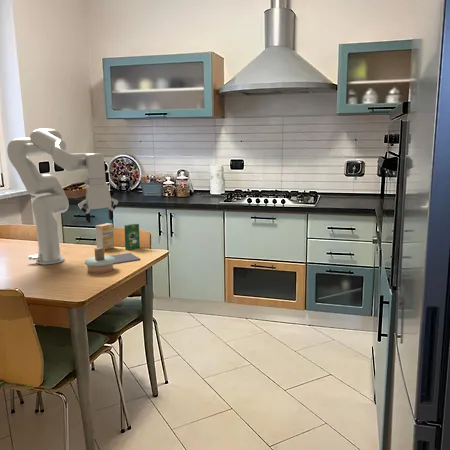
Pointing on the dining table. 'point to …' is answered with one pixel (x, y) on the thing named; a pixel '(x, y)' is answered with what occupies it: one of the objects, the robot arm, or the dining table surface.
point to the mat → (124, 258)
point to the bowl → (100, 269)
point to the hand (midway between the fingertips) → (100, 221)
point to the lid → (99, 258)
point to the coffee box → (132, 236)
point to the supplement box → (105, 236)
